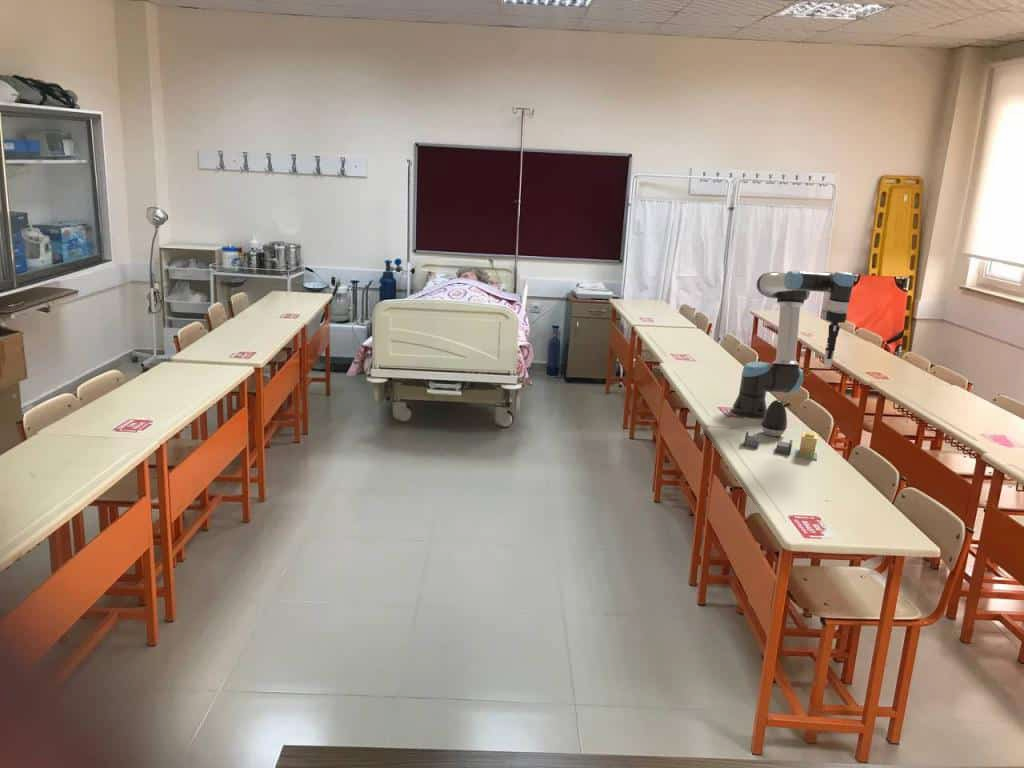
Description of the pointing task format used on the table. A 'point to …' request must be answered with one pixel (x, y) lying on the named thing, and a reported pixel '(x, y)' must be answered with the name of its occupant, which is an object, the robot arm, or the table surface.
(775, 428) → the pump dispenser
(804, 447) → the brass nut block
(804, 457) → the rubber pad
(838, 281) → the robot arm
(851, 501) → the table surface
